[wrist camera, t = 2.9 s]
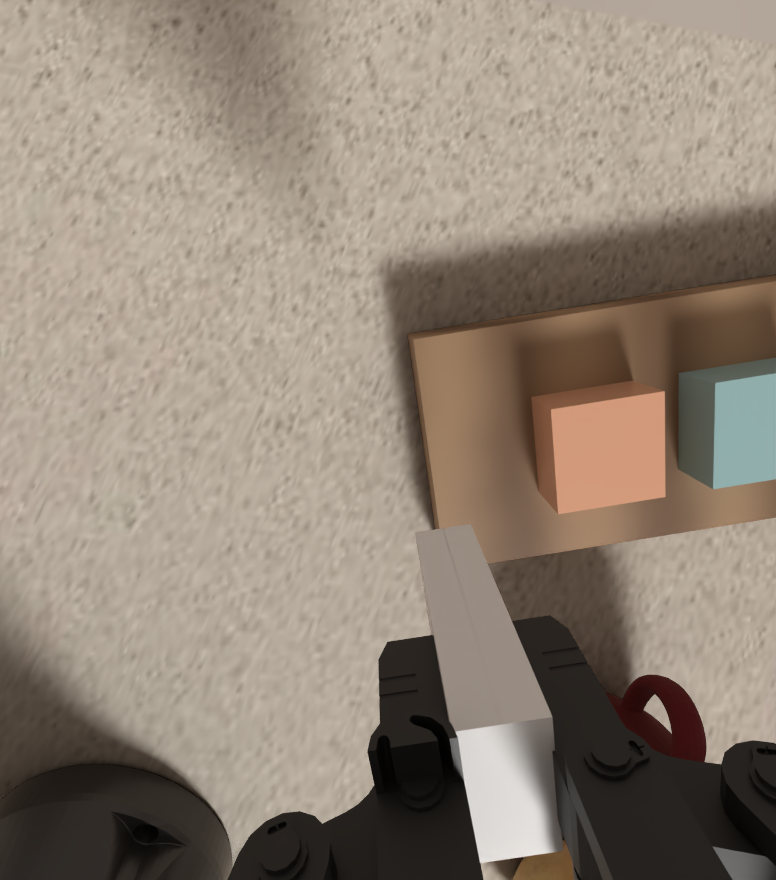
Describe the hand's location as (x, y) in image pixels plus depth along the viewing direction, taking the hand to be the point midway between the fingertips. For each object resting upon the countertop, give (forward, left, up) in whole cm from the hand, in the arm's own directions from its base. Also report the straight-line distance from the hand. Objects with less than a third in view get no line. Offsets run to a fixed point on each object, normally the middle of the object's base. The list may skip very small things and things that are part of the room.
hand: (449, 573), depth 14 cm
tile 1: (+14, 0, -10) cm, 17 cm away
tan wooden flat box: (+11, 0, -13) cm, 16 cm away
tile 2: (+8, 0, -10) cm, 12 cm away
